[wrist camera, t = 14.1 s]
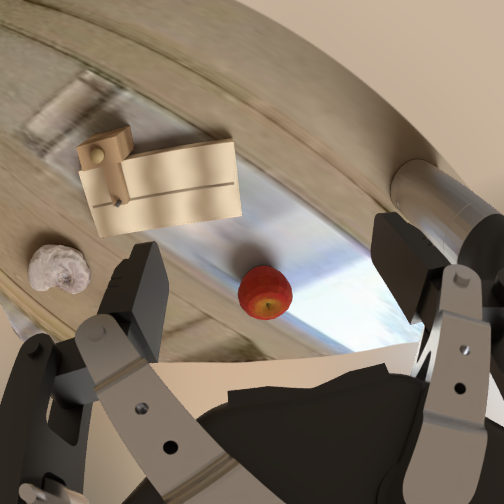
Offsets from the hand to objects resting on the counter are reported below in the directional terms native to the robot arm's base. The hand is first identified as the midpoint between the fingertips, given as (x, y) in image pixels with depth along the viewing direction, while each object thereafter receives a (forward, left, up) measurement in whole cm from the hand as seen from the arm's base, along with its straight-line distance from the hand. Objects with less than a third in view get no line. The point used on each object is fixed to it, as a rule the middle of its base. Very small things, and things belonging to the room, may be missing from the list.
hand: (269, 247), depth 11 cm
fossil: (+31, +17, -29) cm, 46 cm away
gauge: (+15, +3, -29) cm, 33 cm away
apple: (-2, +25, -29) cm, 38 cm away
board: (+10, +8, -29) cm, 31 cm away
